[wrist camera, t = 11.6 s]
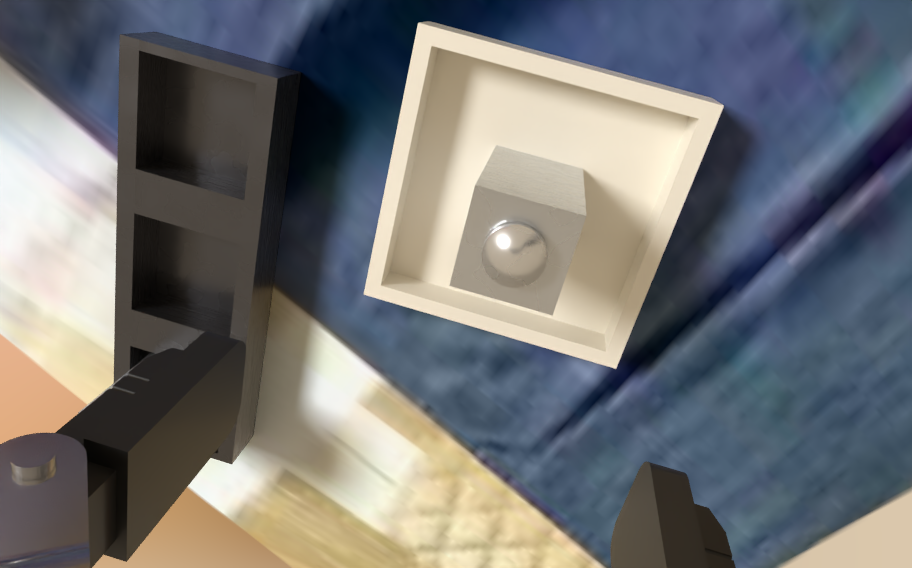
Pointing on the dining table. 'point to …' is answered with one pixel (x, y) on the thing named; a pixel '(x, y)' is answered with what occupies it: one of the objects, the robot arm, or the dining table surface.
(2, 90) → the dining table surface
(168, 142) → the dark grey compartment tray
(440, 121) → the parts tray
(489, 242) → the silver knobbed block
